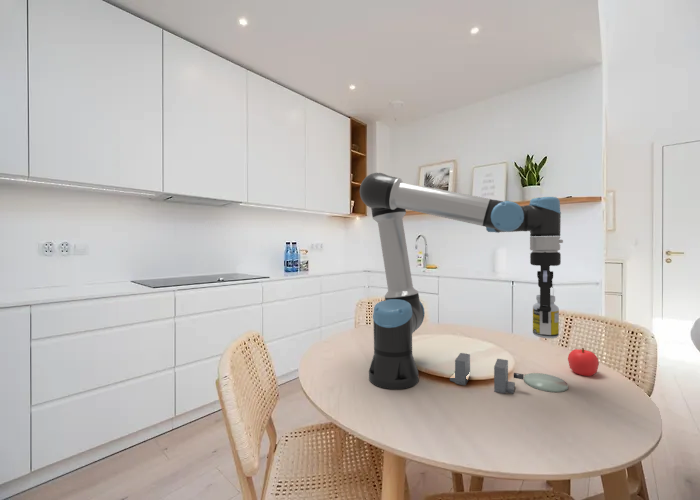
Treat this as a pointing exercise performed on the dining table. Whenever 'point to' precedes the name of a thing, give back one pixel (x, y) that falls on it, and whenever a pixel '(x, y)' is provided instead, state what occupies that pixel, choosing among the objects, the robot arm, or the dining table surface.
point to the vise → (499, 374)
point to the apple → (583, 362)
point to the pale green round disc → (546, 382)
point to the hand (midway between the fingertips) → (545, 330)
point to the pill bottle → (553, 319)
